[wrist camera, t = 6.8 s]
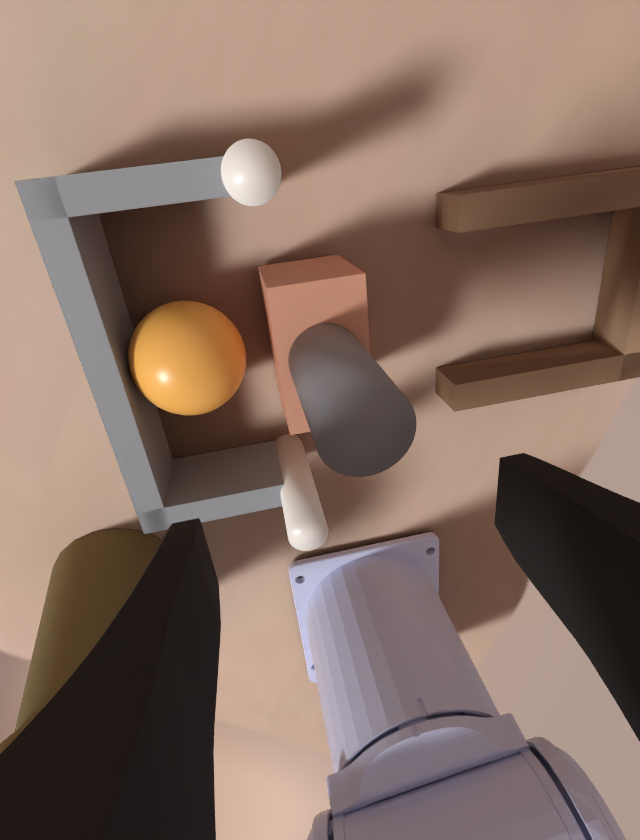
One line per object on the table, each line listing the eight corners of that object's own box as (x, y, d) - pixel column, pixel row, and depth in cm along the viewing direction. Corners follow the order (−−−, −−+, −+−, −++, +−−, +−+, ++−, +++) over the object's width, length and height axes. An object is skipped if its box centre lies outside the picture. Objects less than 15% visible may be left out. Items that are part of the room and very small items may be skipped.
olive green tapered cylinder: (127, 506, 21) (50, 776, 12) (210, 582, 24) (201, 850, 15) (22, 573, 22) (-135, 882, 12) (114, 640, 25) (45, 933, 15)
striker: (348, 377, 20) (428, 506, 12) (278, 389, 20) (314, 529, 12) (337, 254, 18) (428, 315, 10) (257, 265, 18) (286, 338, 10)
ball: (122, 431, 17) (187, 384, 20) (219, 441, 15) (272, 389, 19) (84, 320, 15) (162, 289, 18) (190, 321, 14) (255, 286, 17)
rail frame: (607, 361, 23) (639, 376, 21) (435, 392, 22) (454, 411, 20) (643, 165, 19) (686, 164, 17) (436, 193, 18) (459, 195, 16)
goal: (304, 457, 22) (330, 546, 17) (156, 485, 21) (134, 587, 16) (259, 148, 16) (276, 135, 11) (53, 173, 15) (-35, 171, 10)
